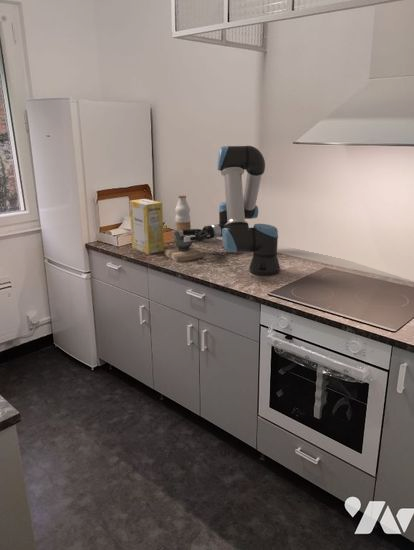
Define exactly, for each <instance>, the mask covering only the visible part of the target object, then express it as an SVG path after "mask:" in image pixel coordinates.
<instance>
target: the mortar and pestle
mask: <svg viewBox="0 0 414 550" xmlns="http://www.w3.org/2000/svg"><path fill="white" fill-rule="evenodd" d="M172 232H173V233H174V234H175V236H176V237H174V243H175V245H176V247H179V248H178V250H179V251H181V252H186V251H189V250H190V249H189V247H192V245H193V242H194V241H188V242H184V237H186V236H180V234H179V233H178V230H176V229H174V230H173V231H172Z"/></svg>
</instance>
